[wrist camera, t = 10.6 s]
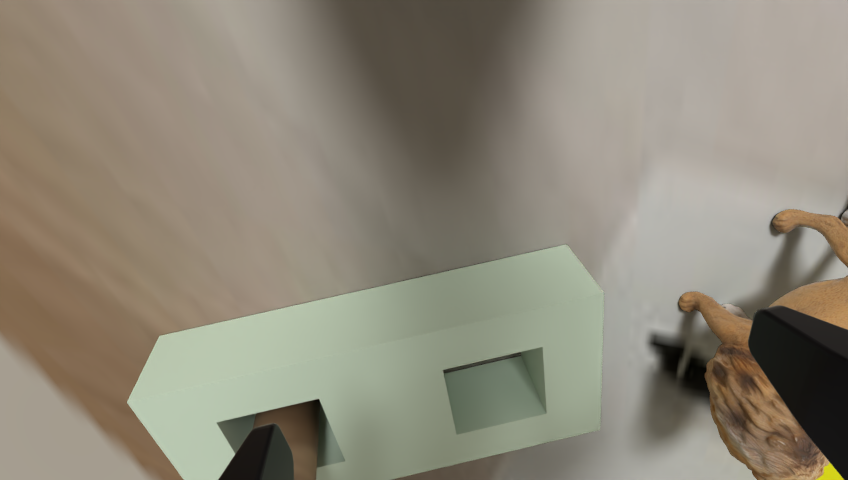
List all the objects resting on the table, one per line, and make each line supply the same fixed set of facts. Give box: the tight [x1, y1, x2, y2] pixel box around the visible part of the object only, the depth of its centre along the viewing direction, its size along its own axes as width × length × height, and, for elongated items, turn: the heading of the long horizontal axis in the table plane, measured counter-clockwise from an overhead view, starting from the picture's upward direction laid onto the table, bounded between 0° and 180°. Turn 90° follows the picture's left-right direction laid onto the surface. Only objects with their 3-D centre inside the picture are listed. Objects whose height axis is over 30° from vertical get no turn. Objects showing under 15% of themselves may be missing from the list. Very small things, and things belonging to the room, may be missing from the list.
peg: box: [253, 399, 320, 480], centre depth 21 cm, size 3×3×10 cm
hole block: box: [127, 244, 604, 480], centre depth 24 cm, size 20×9×4 cm, turn 100°
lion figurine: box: [679, 209, 848, 480], centre depth 22 cm, size 15×5×9 cm, turn 148°
